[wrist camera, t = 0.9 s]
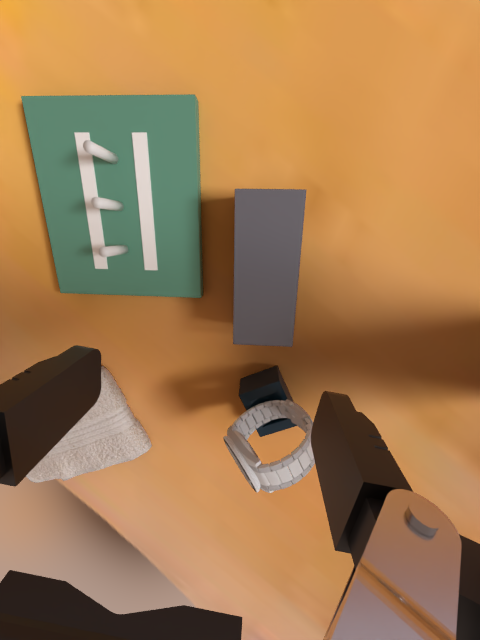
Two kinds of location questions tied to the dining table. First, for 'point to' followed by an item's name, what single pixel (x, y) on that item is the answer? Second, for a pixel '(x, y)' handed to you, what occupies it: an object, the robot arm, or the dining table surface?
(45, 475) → the washcloth
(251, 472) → the watch
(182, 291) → the board
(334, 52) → the dining table surface
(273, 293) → the grey rectangular block
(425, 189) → the dining table surface
